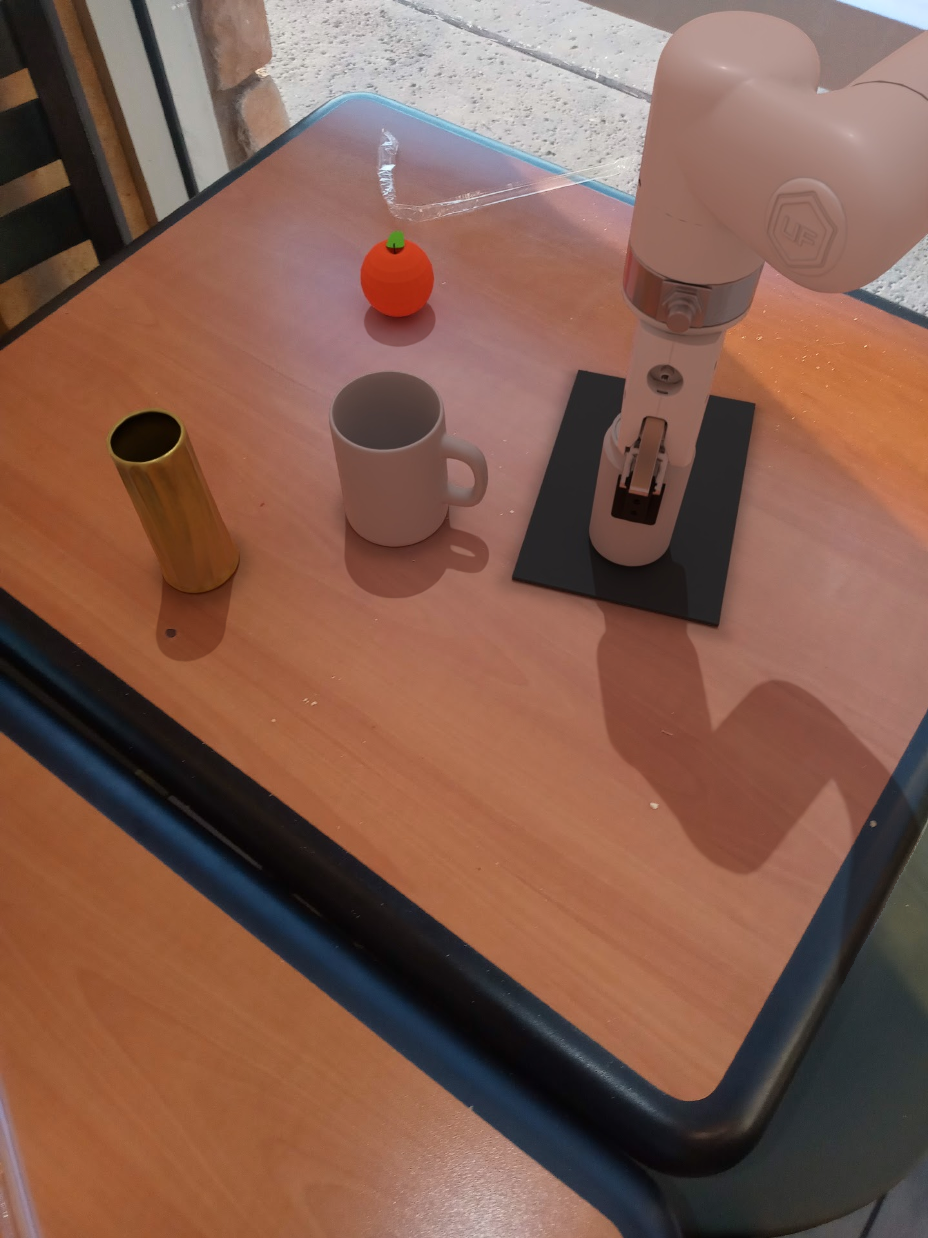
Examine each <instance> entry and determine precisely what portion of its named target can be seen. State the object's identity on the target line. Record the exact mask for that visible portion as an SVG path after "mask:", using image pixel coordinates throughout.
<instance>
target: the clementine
mask: <svg viewBox="0 0 928 1238" xmlns="http://www.w3.org/2000/svg"><path fill="white" fill-rule="evenodd" d="M361 264H362V265H361V267H360V275H359V276H360V277H359V278H360V287H361V289H362V293H363V295H364V297H365V299H366V300H367V302H368V303H369V304H370V306H372V307H373V308H374V309H375V310H377V311H378V312H380V313H381V314H383V315H386V316H389V317H394V318H401V317H407V316H411V315H413V314H415V313H417V312H418V311H419V310H421V309H422V308H423V307H424V306H425V305H426V304H427V302H428V301H429V299H430V297H431V295H432V292H433V289H434V283H435V273H434V269H433V264H432V262H431V261H430V258H429V256H428V255H427V253H426V252H425V251H424V250H423V248H421V247H420V246H419V245H418V244H416V243H415V242H413V241H411V240H408V239H405V235H404V232H403V231H402V230H394V231H392V232H391V233H390V235H389V236H388V238H387V239H384V240H382V241H379V242H377V243H376V244H375V245H373V246H372V247H371V249H370V250H369V251H368V252H367V253H366V255H365V256H364V259H363V261H362V263H361Z"/></svg>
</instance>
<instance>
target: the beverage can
mask: <svg viewBox="0 0 928 1238" xmlns="http://www.w3.org/2000/svg"><path fill="white" fill-rule="evenodd" d="M620 418H621V413H620V414H619V415H618V416H617V417H616V418H615V420H614V422H613V424H612V425H611V427H610V428H609V429H608V430H607V432H606V434H605V437H604V442H603V448H602V454H601V460H600V466H599V472H598V478H597V484H596V490H595V496H594V502H593V508H592V514H591V520H590V526H589V535H590V539H591V541H592V544H593V546H594V547H595V549H596V550H597V551H598V552H599V553H600V554H601V555H602V556H603V557H605V558H606V559H608V560H610V561H612V562H614V563H617V564H620V565H625V566H641V565H646V564H649V563H651V562H654V561H655V560H657V559H658V558H660V557H661V556H662V555H663V554H664V553H665V551H666V550H667V548H668V546H669V543H670V540H671V537H672V533H673V530H674V526H675V523H676V519H677V516H678V513H679V509H680V506H681V502H682V499H683V496H684V492H685V489H686V485H687V482H688V478H689V475H690V472H691V468H692V465H693V461H694V458H695V453H696V447H695V449H694V453H693V457H692V460H691V462H690V463H689V464H688V465H687V466H685V467H683V468H682V467H678V466H671V465H670V463H669V460H668V464H667V468H666V472H665V476H664V480H663V483H664V484H666V486H665V490H664V494H663V497H662V501H661V505H660V509H659V512H658V516H657V520H656V523H655V524H654V525H645V524H641V523H634V522H630V521H627V520H622V519H618V518H614V517H612V516H611V510H612V505H613V500H614V495H615V490H616V485H617V480H618V476H619V474H621V475H622V472H623V467H624V463H625V458H626V454H627V453H625V455H623V454H622V453H621V452H620V451H619V449H618V447H617V446H618V435H619V427H620ZM641 438H642V435H639V438H638V439H637V440H636V441H641ZM663 443H664V440H663V439H661V443H660V445H661V446H664V444H663ZM636 459H637V456H634V460H633V464H632V469H631V471H634V468H635V463H636ZM659 463H660V460H656V464H655V468H654V472H653V475H654V476H655V479H656V475H657V471H658V467H659Z"/></svg>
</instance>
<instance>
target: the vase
mask: <svg viewBox="0 0 928 1238" xmlns="http://www.w3.org/2000/svg"><path fill="white" fill-rule="evenodd" d="M105 446H106V450H107V452H108V455H109V456H110V458H111V460H112V461H113V462H112V463H113V464H114V466H115V468H116V470H117V472H118V475H119V477H120V479H121V481H122V483H123V486H124V487H125V490H126V492H127V494H128V497H129V498H130V500H131V503H132V505H133V508H134V510H135V513H136V514H137V516H138V518H139V521H140V523H141V526H142V528H143V531H144V532H145V535H146V537H147V539H148V541H149V544H150V545H151V548H152V550H153V552H154V554H155V556H156V559H157V561H158V564H159V568H160V571H161V575H162V577H163V579H164V580H165V582H166V583H167V584H168V585H170V586H171V587H172V588H174V589H176V590H178V591H180V592H182V593H188V594H189V593H190V594H200V593H206V592H209V591H212V590H214V589H216V588H219V587H221V586H222V585H223V584H225V583H226V582H227V581H228V580H229V579H230V578H231V577H232V575H233V574H234V572H236V570H237V567H238V564H239V562H240V561H239V559H240V552H239V548H238V546H237V544H236V542H235V541H234V540H233V538H232V537H231V535H230V532H229V530H228V528H227V526H226V524H225V521H224V519H223V517H222V515H221V512H220V510H219V507H218V504H217V503H216V500H215V498H214V495H213V493H212V491H211V488H210V487H209V484H208V482H207V481H208V480H207V479H206V476H205V474H204V472H203V469H202V466H201V464H200V461H199V458H198V457H197V453H196V451H195V448H194V446H193V444H192V441H191V438H190V435H189V432H188V429H187V427H186V425H185V423H184V421H183V420H182V419H181V417H180V416H178V415H177V414H176V413H174V412H173V411H171V410H168V409H165V408H160V407H145V408H141V409H136V410H134V411H131V412H128V413H126V414H125V415H123V416H122V417H121V418H119V419H118V420H116V422H115V423H114V424H113V425H112V426H111V428H110V429H109V431H108V433H107V435H106V438H105Z"/></svg>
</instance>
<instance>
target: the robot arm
mask: <svg viewBox="0 0 928 1238" xmlns="http://www.w3.org/2000/svg"><path fill="white" fill-rule="evenodd" d="M820 82H821V58H820V55H819V52H818V50H817V48H816V45H815V43H814V42H813V41H812V39H811V38H810V37H809V36H808V35H807V34H806V32H804V31H803V30H802V29H801V28H800V27H798V26H796V25H795V24H794V23H792V22H790V21H788V20H785V19H783V18H781V17H778V16H775V15H771V14H767V13H763V12H756V11H747V10H724V11H723V10H721V11H717V12H715V11H714V12H710V13H707V14H702V15H700V16H698V17H695V18H693V19H691V20H689V21H688V22H686V23H684V24H682V25H681V26H680V27H679V28H678V29H677V30H676V31H674V33H673V34H672V35H671V36H670V37H669V38H668V40H667V41H666V43H665V45H664V47H663V49H662V50H661V53H660V55H659V58H658V61H657V65H656V70H655V75H654V80H653V86H652V93H651V98H650V104H649V112H648V117H647V123H646V129H645V137H644V142H643V148H642V154H641V161H640V166H639V167H640V168H639V173H638V179H637V186H636V193H635V199H634V205H633V210H632V218H631V224H630V230H629V234H628V242H627V248H626V254H625V260H624V266H623V273H622V279H621V285H620V286H621V287H620V288H621V293H620V294H621V296H622V300H623V303H625V306H626V308H628V310H629V311H630V312H631V314H633V315H634V316H635V322H634V327H633V332H632V333H633V334H632V340H631V345H630V350H629V357H628V362H627V363H628V364H627V369H626V376H625V379H626V382H625V388H624V395H623V403H622V410H621V418H620V427H619V435H618V446H617V447H618V449H619V451H620V452H621V453H622V454H623V455H625V453H627V454H626V458H625V463H624V467H623V472H622V475H621V474H619V476H618V480H617V485H616V490H615V495H614V500H613V505H612V510H611V516H612V517H614V518H618V519H622V520H627V521H630V522H634V523H641V524H645V525H654V524H655V523H656V520H657V516H658V512H659V509H660V505H661V501H662V497H663V494H664V490H665V486H666V484H664V483H663V480H664V476H665V472H666V468H667V464H668V460H669V463H670V465H671V466H678V467H682V468H683V467H685V466H687V465H688V464H689V463H690V462H691V460H692V457H693V453H694V449H695V445H696V441H697V438H698V434H699V431H700V427H701V423H702V420H703V416H704V412H705V409H706V405H707V402H708V398H709V395H711V391H712V387H713V384H714V381H715V378H716V374H717V370H718V366H719V362H720V358H721V355H722V351H723V347H724V343H725V339H726V334H727V332H728V331H727V330H729V329H731V328H733V327H735V326H737V325H738V324H740V322H742V321H743V320H744V319H745V318H746V317H747V315H748V314H749V312H750V310H751V308H752V304H753V302H754V298H755V295H756V292H757V289H758V286H759V283H760V280H761V277H762V272H763V269H764V267H765V263H767V264H768V265H769V266H770V267H771V268H772V269H773V270H775V271H776V272H777V273H779V274H780V275H782V276H783V277H784V278H786V279H788V280H789V281H791V282H793V283H794V284H796V285H797V286H800V287H802V288H804V289H807V290H809V291H812V292H815V293H820V294H821V293H822V294H830V295H833V294H836V295H837V294H845V293H850V292H853V291H856V290H859V289H861V288H864V287H865V286H869V284H871V283H873V282H874V281H876V280H877V279H879V278H880V277H882V276H883V275H885V273H887V272H888V271H889V270H890V269H892V268H893V267H894V266H895V265H896V264H897V263H898V262H899V261H901V259H903V257H905V256H906V255H907V254H908V253H909V252H910V251H911V250H912V249H913V248H915V246H916V245H918V244H919V243H920V242H921V241H922V240H923V239H924V238H925V237H927V236H928V29H926V30H924V31H923V32H922V33H920V34H918V35H916V36H915V37H913V38H912V39H910V40H909V41H907V42H906V43H905V44H903V45H901V47H899V48H897V49H896V50H895V51H893V52H892V53H890V54H889V55H887V56H886V57H884V58H883V59H882V60H880V61H879V62H877V63H876V64H874V65H873V66H870V68H869V69H867V70H866V71H865V72H864V73H862V74H861V75H859V76H858V77H856V78H855V79H854V80H853V81H851V82H849V83H848V84H847V85H846V86H844V87H843V88H839V89H835V90H829V91H826V92H819V93H818V90H819V86H820ZM639 435H642V438H641V441H636V440H637V439H638V438H639ZM661 439H663V440H664V443H663V444H664V446H661V445H660V443H661ZM634 456H637V459H636V463H635V468H634V471H631V469H632V464H633V460H634ZM656 460H660V463H659V467H658V471H657V475H656V479H655V476H654V475H653V472H654V468H655V464H656Z"/></svg>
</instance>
